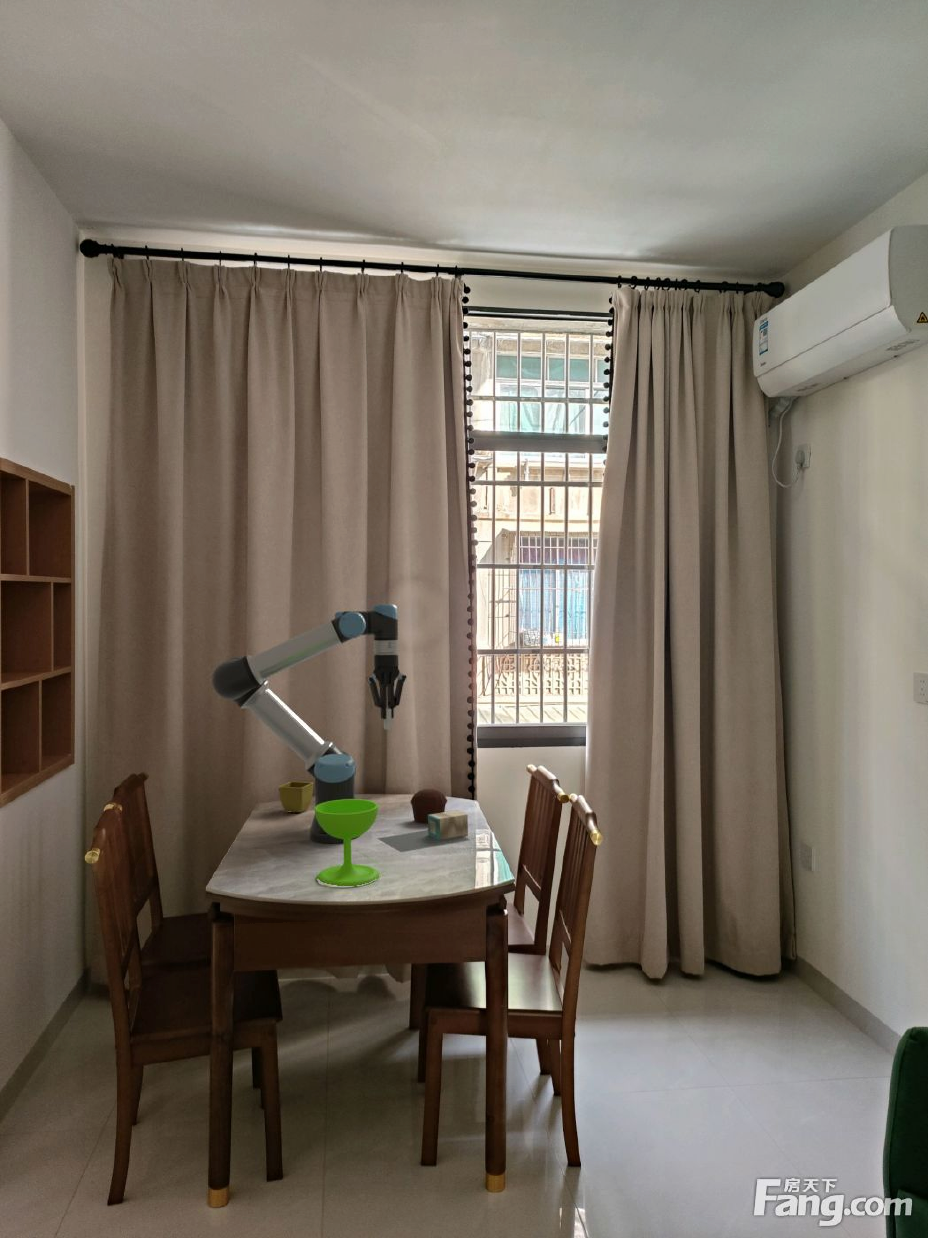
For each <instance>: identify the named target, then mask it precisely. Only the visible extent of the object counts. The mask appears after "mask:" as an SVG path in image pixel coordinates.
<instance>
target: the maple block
mask: <svg viewBox="0 0 928 1238" xmlns="http://www.w3.org/2000/svg"><path fill="white" fill-rule="evenodd" d="M468 818H469V815H468V813H466V812H465V813H464V812H463V811H460V810H452V811H451V810H450V811H445V812H443V813H437V814H430V815H428V824H427V830H428V835H429V836H431V837H433V838H435V839H437V840H440V839H446V838H452V837H458V836H463V837H465V836H468V835H469V826H468V823H469V821H468V820H469V819H468Z"/></svg>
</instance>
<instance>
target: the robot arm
mask: <svg viewBox="0 0 928 1238" xmlns="http://www.w3.org/2000/svg"><path fill="white" fill-rule="evenodd" d="M372 607H373V608H372V610H368V611H365V610H363V611H362V610H361V611H360V610H357V611H355V610H354V611H352V610H350V611H349V610H344V611H337V612H335V613H334V619H332V620H329V621H326V622H325V623H323V624H320V625H318V626H316V627H314V628H311V629H310V630H307V631H305V632H303V633H301V634H299V635H296V636H294V637H292V638H291V639H288V640H285V641H284V642H281V643H279V644H277V645H274V646H272V647H270V648H268V649H266V650H264V651H261V652H259V653H257V654H255V655H249V654H247V655H245V656H243V657H237V656H236V657H232V658H229V659H227V660H225V661H223V662H222V663H220V664H218V666H217V667H215V669H214V670H213V673H212V674H211V675H212V676H211V685H212V689H213V690H214V691H215V693H216V694H217V695H218V696H220V697H221V698H223V699H225V700H226V699H227V700H232V701H233V703H235V705H237V707H239V708H240V709H249V710H250V711H251V712H252V713H253V714H254V715H255V716H256V717H257V718H258V719H259V720H260V721H262V723H263V724H264V725H266V726H267V728H269V729H270V731H272V732H273V733H274V734H275V735H276V736H277V737H278V738H279V739H280V740H281V741H282V742H284V743H285V745H287V746H288V747H289V748H290V749H291V750H292V751H293V752H295V754H296V755H297V756H298V757H299V758H300V759H301V760H302V761H304V763H305V765H304V766H305V770H306V771H307V772H308V773H309V774H310V775H311V777H313V778H314V797H315V798H314V800H315V802H314V803H315V805H314V807H315V806H317V805H319V804H321V803H324V802H328V801H334V800H343V799H356V781H355V778H356V775H357V766H356V763H355V761H354V759H353V757H352V756H351V755H350V754H349V753H347V752H346V751H344V750H342V749H341V748H340V747H339V746H338V745H336V744H335V743H334V742H333V741H326V740H324V739H323V738H322V737H321V736H320V735H319V734H317V732H315V730H313V728H312V727H310V726H309V725H308V724H307V723H306V722H305V721H304V720H303V719H301V717H299V715H297V714H296V713H295V712H294V711H293V710H292V708H290V706H288V705H287V704H286V703H285V702H284V701H283V700H281V698H280V697H278V695H277V694H275V693H274V692H273V691H272V690H271V689H270V686H269V680H268V678H271V677H273V676H275V675H277V674H279V673H282V672H283V671H286V670H288V669H290V668H292V667H294V666H297V665H299V664H300V663H302V662H305V661H307V660H309V659H312V658H314V657H316V656H317V655H320V654H322V653H324V652H326V651H328V650H331V649H333V648H335V647H337V646H340V645H342V644H344V643H346V642H348V641H350V640H353V639H356V638H358V637H360V636H373V653H375V654H374V656H373V660H374V661H373V663H374V670H373V672H372V674H371V675H370V676H367V677H366V681H367V682H368V684H369V686H370V687H369V688H370V691H371V692H370V693H371V695H372V699H373V703H374V706H375V707H377V708H380V718H381V719H382V720H383V724H382V725H383V730H387V731H390V730H392V719H394V713H395V711H394V709H395V708H396V707H398V706H399V705H400V703H401V697H402V692H403V688H404V684H405V683H404V682H405V681H406V679H407V675H406V674H403V673H401V672H400V669H399V655H398V654H397V653H399V626H398V625H399V624H398V623H399V617H398V607H397V605H395V604H392V603H391V604H374V605H373V606H372ZM396 680H397V681H396ZM376 681H377V682H378V685H379V686H378V685H377V683H376ZM395 681H396V685H395ZM378 687H379V690H378ZM310 826H311V827H310V828H309V839H310V840H311V841H313V842H315V843H322V844H340V843H344V842H343V839H340V838H336V837H333V836H331V835H329V834H328V833H326V832H325V831H324V830H323V828H322V827H321V826H320V825H319V823H318V821H317V819H316V816H315V814H314V816H313V818H312V821H311V825H310ZM360 837H361V836H358V837H355V838H352V839H351V841H352V840H355V839H358V838H360Z"/></svg>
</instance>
